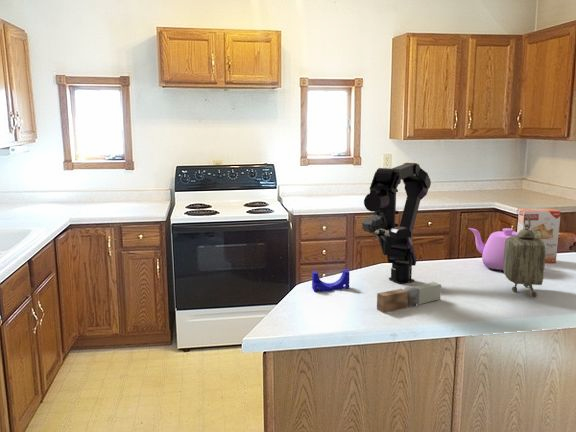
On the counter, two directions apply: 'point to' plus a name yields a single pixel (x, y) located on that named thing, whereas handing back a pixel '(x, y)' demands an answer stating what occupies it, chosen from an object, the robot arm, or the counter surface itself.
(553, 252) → the cracker box
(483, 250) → the teapot
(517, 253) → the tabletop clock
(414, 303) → the hinge base
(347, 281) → the cable clip
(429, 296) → the hinge leaf
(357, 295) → the counter surface
